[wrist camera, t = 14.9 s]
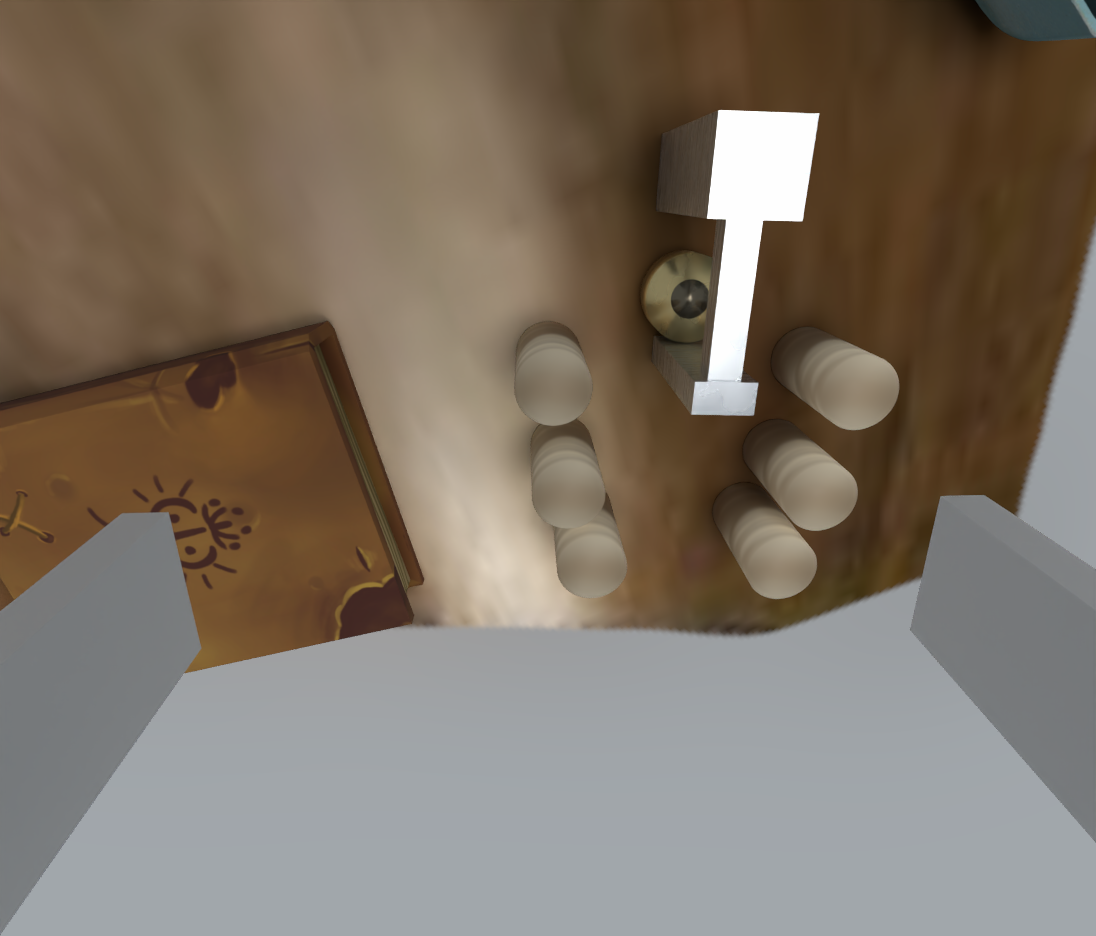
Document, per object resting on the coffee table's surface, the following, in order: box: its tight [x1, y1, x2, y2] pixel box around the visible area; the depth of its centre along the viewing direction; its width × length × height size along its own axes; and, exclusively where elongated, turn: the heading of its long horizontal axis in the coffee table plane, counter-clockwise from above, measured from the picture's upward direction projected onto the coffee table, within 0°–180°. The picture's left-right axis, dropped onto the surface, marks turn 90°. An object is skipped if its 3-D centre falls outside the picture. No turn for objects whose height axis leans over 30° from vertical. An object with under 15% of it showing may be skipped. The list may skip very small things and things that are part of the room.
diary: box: [0, 321, 424, 673], centre depth 43 cm, size 23×19×6 cm
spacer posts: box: [514, 322, 899, 599], centre depth 41 cm, size 14×20×8 cm
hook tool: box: [652, 110, 819, 415], centre depth 35 cm, size 13×4×12 cm, turn 178°
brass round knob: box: [640, 250, 712, 343], centre depth 40 cm, size 5×5×3 cm
